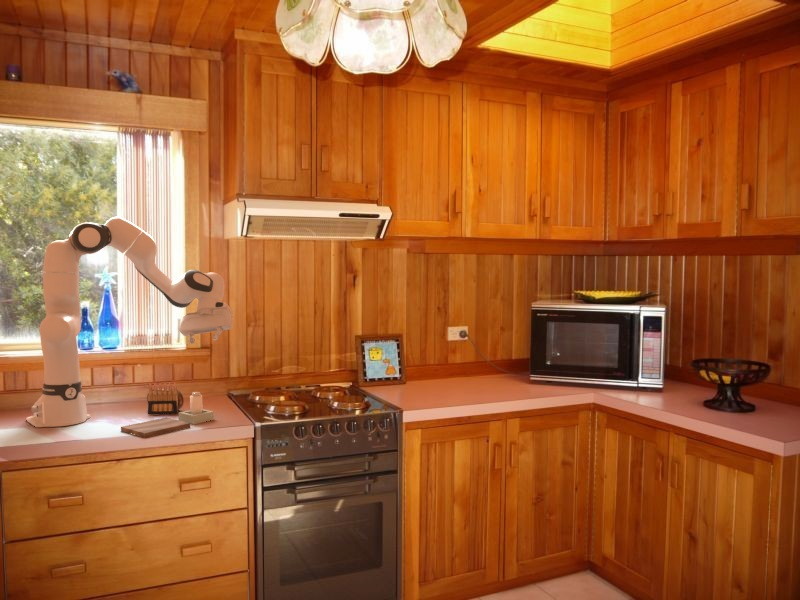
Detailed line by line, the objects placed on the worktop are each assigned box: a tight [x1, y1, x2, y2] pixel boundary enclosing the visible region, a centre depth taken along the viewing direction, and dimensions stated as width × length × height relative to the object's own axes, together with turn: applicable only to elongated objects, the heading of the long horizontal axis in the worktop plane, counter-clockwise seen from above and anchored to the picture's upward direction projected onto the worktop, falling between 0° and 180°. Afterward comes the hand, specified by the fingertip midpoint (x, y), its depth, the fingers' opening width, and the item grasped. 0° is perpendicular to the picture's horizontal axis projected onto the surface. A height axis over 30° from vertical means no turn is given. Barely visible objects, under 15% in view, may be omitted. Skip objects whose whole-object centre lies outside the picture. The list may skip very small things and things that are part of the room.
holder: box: [178, 408, 215, 425], centre depth 231 cm, size 9×9×3 cm
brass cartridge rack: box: [146, 387, 185, 411], centre depth 248 cm, size 15×3×8 cm, turn 72°
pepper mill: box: [189, 391, 203, 415], centre depth 231 cm, size 4×4×10 cm
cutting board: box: [120, 416, 191, 439], centre depth 219 cm, size 14×17×2 cm
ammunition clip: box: [147, 381, 179, 415], centre depth 242 cm, size 11×2×12 cm, turn 95°
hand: (203, 341), depth 240 cm, fingers open, 8 cm apart
